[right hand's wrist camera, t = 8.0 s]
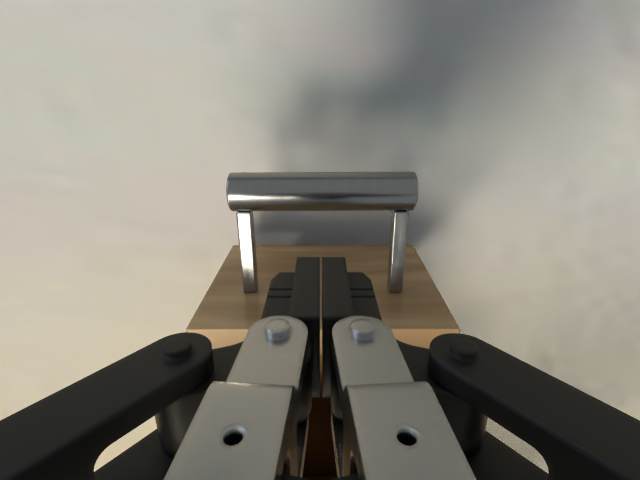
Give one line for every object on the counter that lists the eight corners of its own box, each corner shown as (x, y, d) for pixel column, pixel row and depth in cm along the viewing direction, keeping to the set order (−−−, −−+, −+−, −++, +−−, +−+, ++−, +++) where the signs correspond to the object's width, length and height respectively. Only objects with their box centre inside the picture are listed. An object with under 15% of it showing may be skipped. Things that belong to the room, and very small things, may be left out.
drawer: (224, 152, 20) (163, 192, 13) (420, 151, 20) (481, 190, 13) (254, 465, 29) (229, 604, 21) (393, 466, 29) (419, 605, 21)
